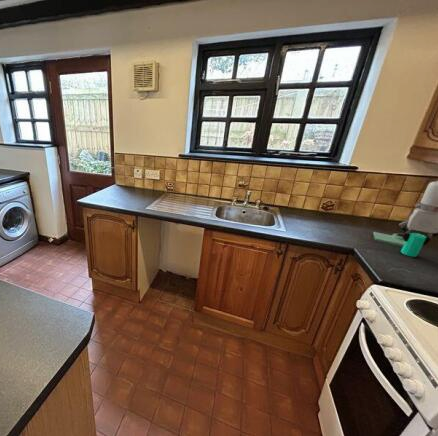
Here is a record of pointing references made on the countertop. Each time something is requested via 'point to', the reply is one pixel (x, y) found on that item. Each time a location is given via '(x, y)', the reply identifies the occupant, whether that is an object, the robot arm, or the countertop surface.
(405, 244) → the candle
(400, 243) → the scale
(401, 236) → the tare button
